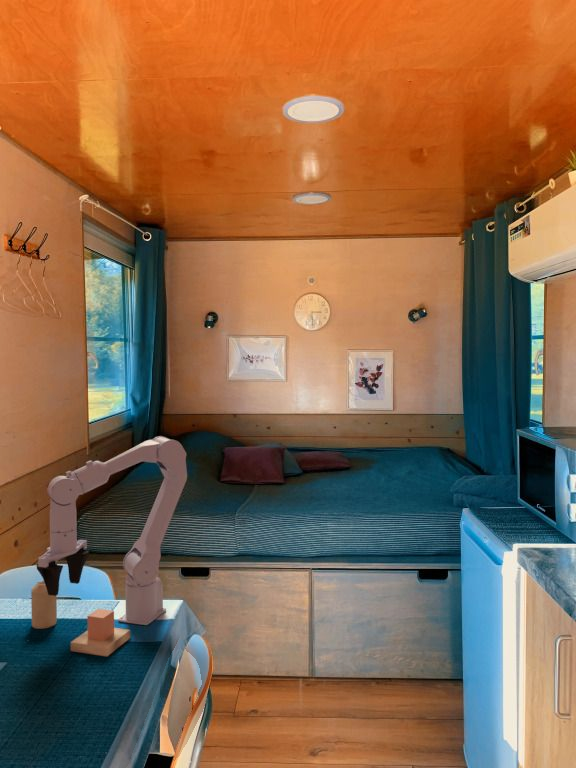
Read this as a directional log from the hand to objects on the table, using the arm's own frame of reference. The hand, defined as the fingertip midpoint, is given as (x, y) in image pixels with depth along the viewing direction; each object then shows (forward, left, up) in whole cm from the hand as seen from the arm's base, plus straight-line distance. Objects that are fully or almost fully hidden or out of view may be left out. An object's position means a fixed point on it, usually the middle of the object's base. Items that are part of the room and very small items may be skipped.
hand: (64, 588), depth 137 cm
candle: (-3, -8, -11) cm, 14 cm away
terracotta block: (+2, +11, -9) cm, 14 cm away
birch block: (+2, +11, -11) cm, 16 cm away
